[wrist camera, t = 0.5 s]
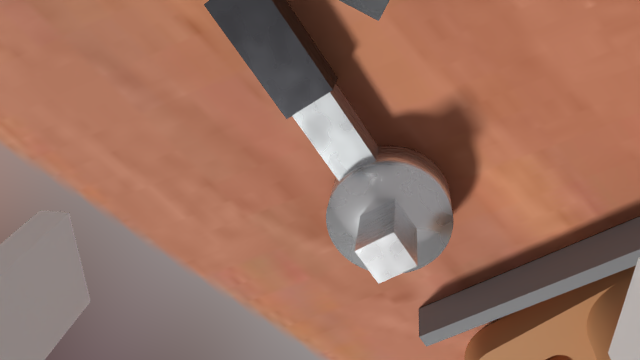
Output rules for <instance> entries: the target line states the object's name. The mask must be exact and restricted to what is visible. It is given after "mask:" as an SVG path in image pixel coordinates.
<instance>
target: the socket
mask: <svg viewBox="0 0 640 360" xmlns="http://www.w3.org/2000/svg"><path fill="white" fill-rule="evenodd" d="M340 1H342V2H344V3H345V4H347V5H349V6H351V7H353V8H355V9H357V10H359V11H361V12H363V13H365V14H367V15H368V16H370V17H372V18H374V19H376V20H378V21H379V19H380V17H381V15H382V14H383V12H384V10H385V8H386V6H387V4H388V2H389V0H340Z"/></svg>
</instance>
